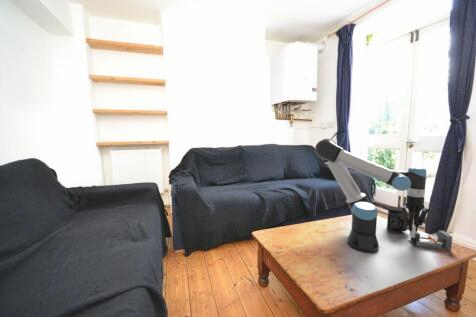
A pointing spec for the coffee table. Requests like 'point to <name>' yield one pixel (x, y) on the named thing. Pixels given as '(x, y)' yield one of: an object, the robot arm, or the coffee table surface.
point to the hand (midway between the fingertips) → (412, 236)
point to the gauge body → (442, 242)
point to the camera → (396, 220)
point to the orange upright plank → (432, 239)
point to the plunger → (417, 237)
